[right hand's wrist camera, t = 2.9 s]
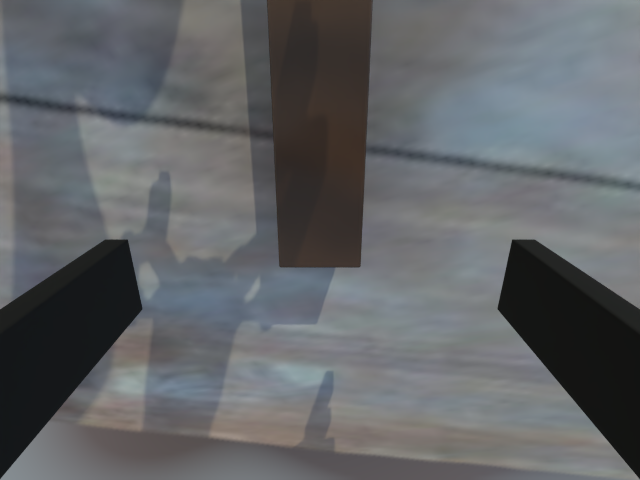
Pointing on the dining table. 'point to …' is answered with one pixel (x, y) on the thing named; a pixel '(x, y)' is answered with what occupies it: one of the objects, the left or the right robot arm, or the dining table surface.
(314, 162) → the walnut beam
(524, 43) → the dining table surface
